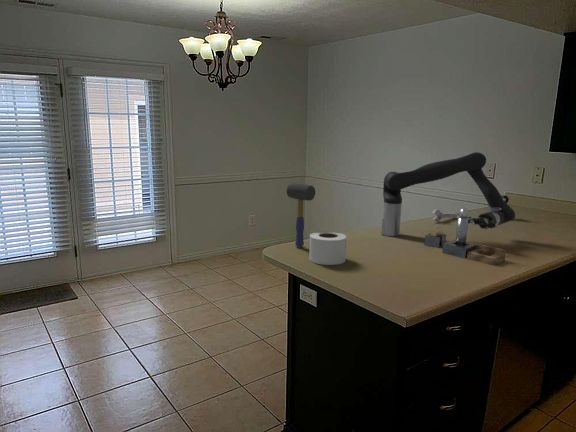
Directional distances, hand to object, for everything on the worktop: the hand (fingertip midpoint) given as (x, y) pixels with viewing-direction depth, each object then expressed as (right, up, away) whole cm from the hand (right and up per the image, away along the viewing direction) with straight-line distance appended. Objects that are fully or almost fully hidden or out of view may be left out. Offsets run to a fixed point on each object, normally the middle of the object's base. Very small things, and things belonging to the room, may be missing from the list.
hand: (472, 224), depth 203 cm
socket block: (-7, -13, -3) cm, 16 cm away
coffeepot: (+46, +2, +77) cm, 90 cm away
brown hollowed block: (0, -15, -12) cm, 20 cm away
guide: (-14, -10, +11) cm, 20 cm away
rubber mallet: (-80, -11, +2) cm, 81 cm away
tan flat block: (-12, -10, +13) cm, 20 cm away
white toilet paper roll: (-69, -15, -16) cm, 73 cm away
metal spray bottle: (-7, -11, -4) cm, 14 cm away
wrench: (+12, +1, +68) cm, 69 cm away
